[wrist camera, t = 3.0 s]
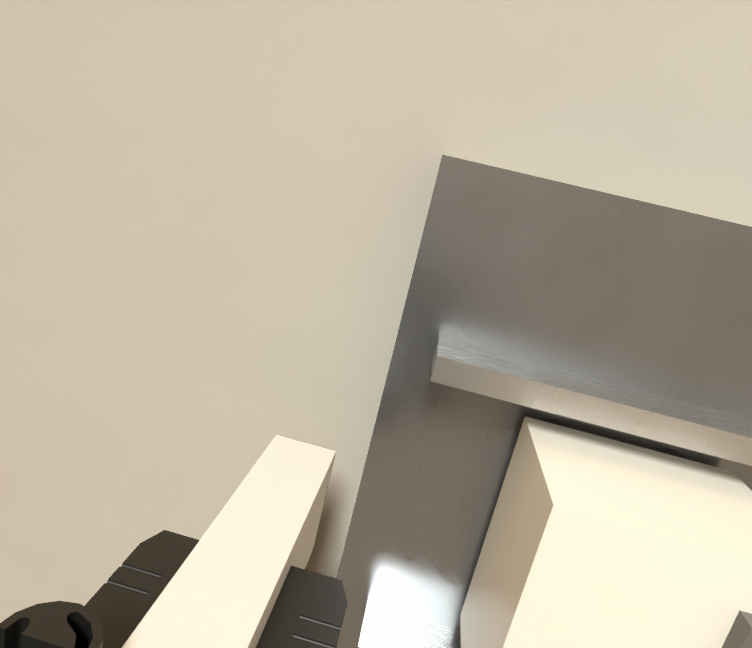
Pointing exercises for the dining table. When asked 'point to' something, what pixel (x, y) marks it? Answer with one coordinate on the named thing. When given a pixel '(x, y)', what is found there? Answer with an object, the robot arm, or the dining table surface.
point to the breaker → (611, 550)
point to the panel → (536, 373)
